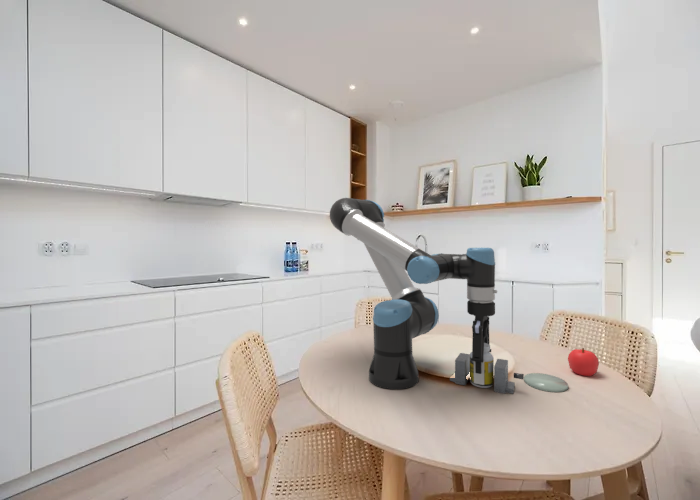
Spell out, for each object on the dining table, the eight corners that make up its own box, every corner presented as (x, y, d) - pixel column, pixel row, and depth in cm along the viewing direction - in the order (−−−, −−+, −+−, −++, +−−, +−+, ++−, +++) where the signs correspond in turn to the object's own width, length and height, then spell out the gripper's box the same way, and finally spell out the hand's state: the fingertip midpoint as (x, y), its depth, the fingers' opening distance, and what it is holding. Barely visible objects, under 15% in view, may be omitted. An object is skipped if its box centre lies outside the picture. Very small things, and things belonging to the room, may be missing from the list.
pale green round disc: (522, 386, 94) (522, 384, 94) (525, 373, 103) (525, 370, 103) (569, 395, 88) (569, 392, 88) (567, 380, 98) (567, 377, 98)
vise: (449, 382, 98) (448, 358, 98) (454, 373, 104) (454, 351, 103) (522, 397, 88) (522, 371, 87) (524, 387, 94) (524, 362, 93)
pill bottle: (465, 381, 98) (464, 342, 98) (483, 377, 100) (482, 340, 100) (479, 390, 92) (479, 349, 92) (498, 386, 94) (498, 346, 94)
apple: (567, 375, 101) (567, 349, 101) (567, 366, 108) (567, 342, 108) (600, 380, 97) (600, 353, 97) (598, 371, 104) (598, 346, 103)
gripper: (489, 308, 85) (490, 395, 86) (499, 296, 102) (499, 369, 103) (459, 305, 89) (460, 389, 90) (474, 294, 106) (474, 364, 107)
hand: (481, 378), depth 96 cm, fingers open, 7 cm apart
